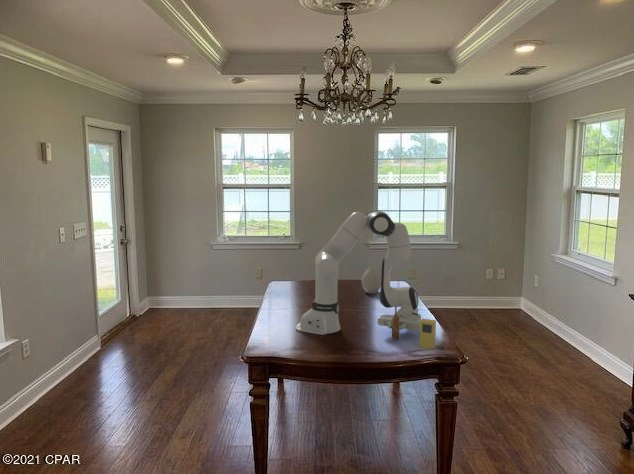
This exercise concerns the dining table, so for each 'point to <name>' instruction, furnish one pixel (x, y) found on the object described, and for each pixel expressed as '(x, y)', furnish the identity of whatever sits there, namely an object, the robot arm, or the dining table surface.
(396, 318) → the awl
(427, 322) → the block
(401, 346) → the dining table surface
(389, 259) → the robot arm
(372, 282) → the vase
